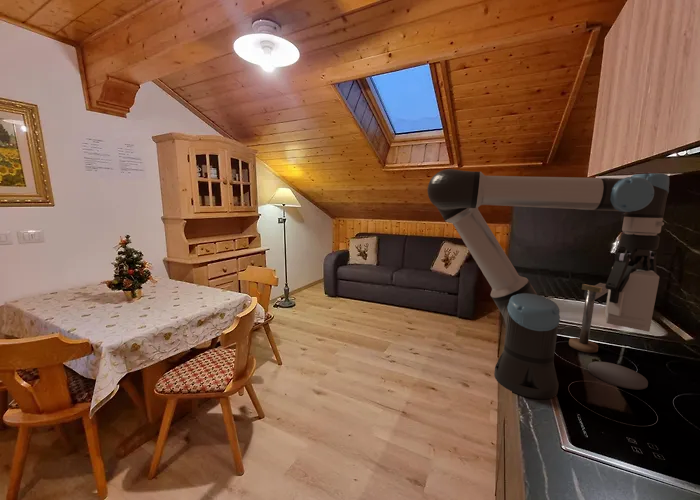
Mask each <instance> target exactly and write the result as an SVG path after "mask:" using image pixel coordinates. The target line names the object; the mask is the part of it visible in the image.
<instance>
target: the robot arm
mask: <svg viewBox="0 0 700 500" xmlns="http://www.w3.org/2000/svg"><path fill="white" fill-rule="evenodd" d="M669 187H670V176H669V175H668V174H666V173H658V172H657V173H656V172H655V173H654V172H653V173H636V174H633V175H631V176H627V177H623V178H620V177H619V178H617V177H613V178H612V177H611V178H609V177H602V178H600V177H578V176H577V177H573V176H572V177H571V176H568V177H567V176H566V177H565V176H522V175H521V176H518V175H485V174H484V173H483V172H482V171H473V170H472V171H470V170H461V169H454V168H447V169H443V170H439V172H436V173H435V174H434V175H433V176H432V177H431V178H430V180H429V183H428V185H427V197H428V199H429V201H430V203H431V204H432V205H434V206H435V207H436V208H437V210H438V212H439V214H440V215H441V217H442V218H443V220H444V222H446V223H449V224H450V223H451V224H452V225H453V226H454V229H455V230H456V232H457V233H458V235H459V237H460V238H461V240H462V241H463V243H464V245H465V247H466V249H468V251H469V254H470V255H471V256H472V258H473V260H474V261H475V263H476V265H477V266H478V268H479V269H480V271H481V272H482V274H483V276H484V277H485V279H486V281H487V282H488V284H489V286H490V288H491V292H490V297H491V298H492V300H493V302H494V304H495V305H496V307H497V308H498V310H499V312H500V313H501V315H502V317H503V321H504V323H505V337H504V343H503V344H504V345H503V351H502V353H501V355H500V356H499V358H498V360H497V362H496V363H495V366H494V373H493V374H494V375H493V376H494V378H495V380H496V382H497V383H498V384H499V385H501V386H502V387H503V388H505V389H506V390H508V391H509V392H513V393H515V394H517V395H519V396H522V397H525V398H530V399H536V400H547V399H552V398H554V397H556V396H557V395H558V391H559V386H560V385H559V384H560V383H559V381H558V377H557V372H556V368H555V363H554V359H555V354H556V353H555V352H556V347H557V346H556V343H557V337H558V331H559V324H560V322H561V315H560V313H561V312H560V307H559V305H558V304H557V303H556V302H555V301H553V300H552V299H550V298H546V297H545V296H543V295H539V294H538V293H537V292H536V290H535V289H534V287H533V285H532V284H531V282H530V280H529V279H528V278H527V277H524V276H522V275H521V276H520V275H519V272H518V271H517V270H516V268H515V267H514V265H513V263H512V262H511V260H510V257H508V255H507V254H506V252H505V250H504V249H503V247H502V246H501V244H500V242H499V241H498V239H497V238H496V236H495V234H494V233H493V231H492V229H491V228H490V226H489V225H488V222H486V220H485V218H484V217H483V215H482V213H481V212H480V210H479V207H481V206H498V207H499V206H500V207H501V206H502V207H503V206H506V207H508V206H509V207H521V208H522V207H523V208H525V207H526V208H546V209H547V208H549V209H569V210H570V209H572V210H574V209H575V210H584V211H607V212H608V211H610V212H612V211H613V212H623V213H624V216H623V220H622V221H623V222H622V226H621V227H622V228H621V231H622V232H623V233H622V234H621V236H620V242H619V246H620V247H621V248H625V251H624V252H623V253H622V252H617V253H616V255H615V261H614V263H613V265H612V267H613V268H612V267H611V270H610V273H609V276H608V278H607V281H606V283H605V284H606V285H605V287H606V289H609V290H611V291H610V297H609V303H608V310H607V313H610V314H614V315H617V316H620V315H621V309H622V303H623V297H624V292H622V290H623V288H624V287H625V285H626V283H627V281H628V280H629V276H630V273H633V272H634V271H636V270H637V269H638V270H644V271H654V272H655V273H656V274H657V273H658V272H657V270H658V269H657V268H658V267H657V256H658V252H657V251H655V250H657V249H658V248H659V245H660V239H661V236H659V235H658V234H660V233H661V232H662V226H664V225H665V222H663V220H664V214H665V209H666V205H667V204H666V203H667V200H668V199H667V198H668V194H670V193H669V192H670V188H669ZM658 250H659V249H658ZM657 275H658V274H657ZM555 395H556V396H555ZM553 396H554V397H553ZM551 397H552V398H551Z"/></svg>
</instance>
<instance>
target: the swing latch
mask: <svg viewBox="0 0 700 500" xmlns="http://www.w3.org/2000/svg"><path fill="white" fill-rule="evenodd" d="M605 285H606V283H602V282H599V283H597V284H595V285H591V284H585V283H582V284H581V290H584V294H583V299H584V298H585V299H584V300H585V301H584V307H583V316H582V321H581V328H580V335H579V338H580V340H579V342H580V343H583V344H588V341H590V340H589V339H590V334H591V327H592V321H593V320H592V319H593V313H594V307H595V306H594V305H595V300H597V299H599V298H600V297H602V296H604V295H605V294H608V291H609V289H606V287H605Z"/></svg>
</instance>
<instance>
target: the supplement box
mask: <svg viewBox="0 0 700 500" xmlns="http://www.w3.org/2000/svg"><path fill="white" fill-rule="evenodd" d="M612 268H613V266H612V267H611V269H612ZM659 281H660V275H658V274H656V273H655V272H654V271H644V270H638V269H637V270H636V271H634V272H633V273H630V276H629V280H628V281H627V283H626V285H625V287H624V288H623V290H622V292H624V297H623V303H622V309H621V315H620V316H617V315H614V314H610V313H607V310H608V303H609V297H610V291H611V290H609V291H608V292H607V296H606V302H605V303H606V304H605V305H606V306H605V310H604V318H605V323H606V324H608V325H613V326H617V327H624V328H629V329H633V330H638V331H639V330H640V331H643V332H647V333H649V332H651V326H652V325H651V324H652V319H653V314H654V309H655V303H656V298H657V293H658V288H659V283H660V282H659Z"/></svg>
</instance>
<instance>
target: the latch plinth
mask: <svg viewBox="0 0 700 500" xmlns="http://www.w3.org/2000/svg"><path fill="white" fill-rule="evenodd" d="M579 340H580V337H571V338H569V340H568V345H569V347H571V348H572V349H574V350H577V351H579V352H583V353H584V352H585V353H591V354H595V353H598V351H599V345H598V344H597V343H595V342H594V341H592V340H589V341H588V344H583V343H580V342H579Z"/></svg>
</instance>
